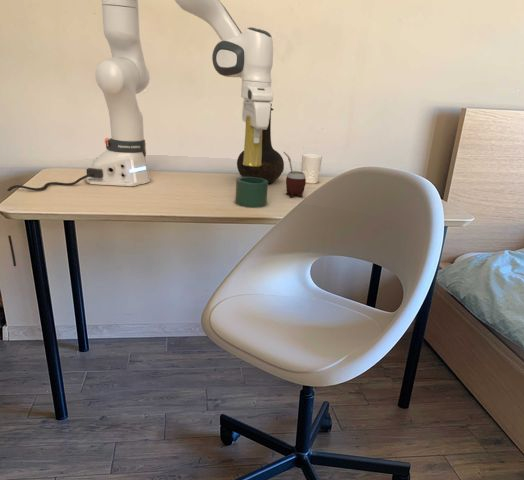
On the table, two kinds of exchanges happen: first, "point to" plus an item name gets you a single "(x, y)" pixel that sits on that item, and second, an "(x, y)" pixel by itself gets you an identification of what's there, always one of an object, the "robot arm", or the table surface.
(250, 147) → the vase
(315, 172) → the white cup
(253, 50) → the robot arm
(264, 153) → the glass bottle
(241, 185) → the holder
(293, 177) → the mate gourd
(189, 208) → the table surface
